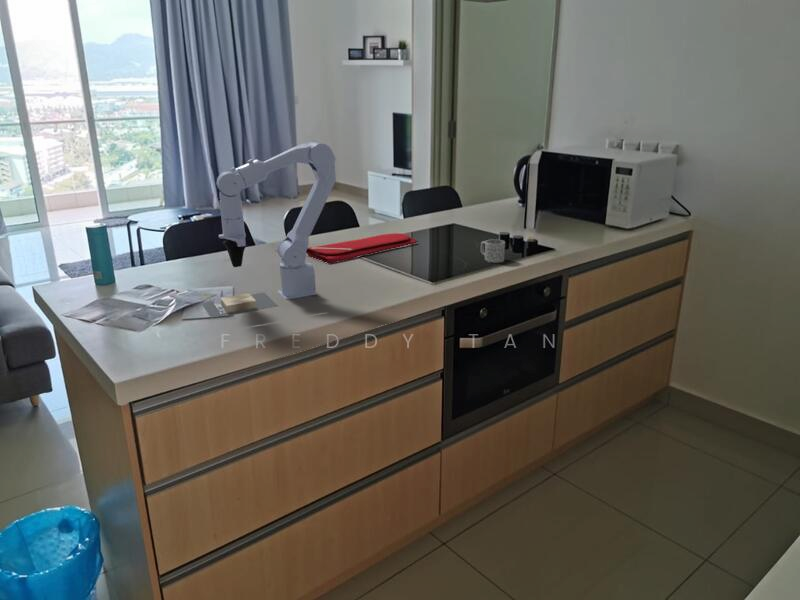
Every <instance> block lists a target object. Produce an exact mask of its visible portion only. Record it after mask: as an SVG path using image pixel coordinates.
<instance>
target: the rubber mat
mask: <svg viewBox="0 0 800 600" xmlns="http://www.w3.org/2000/svg"><path fill="white" fill-rule="evenodd" d="M250 295H251V296H252V297H253V298H254V299H255V300H256V305H257V308H252V309H247V310H241V311H235V312H230V313H227V312H226V313H223V311H221V312H222V314H220V313H219V310H218V309H217V308H216V306H215V305H214V302H213V301H214V300H211V301H205V303H203V302H201V303H202V304H201V306H202V307H203V309H204V310H205V311H206V312H207V315H208V316H209V317H210V318H211V319H212V318H219V317H224V316H225V317H226V316H228V315H235V314H241V313H242V314H243V313H246V312H252V311H253V312H254V311H258V310H263V309H269V308H274V307H278V306H279V305H278V304H277V303H275V301H274V300H273V299H272V298H271V297H269V296H268V294H266V292H259V293H253V294H250Z"/></svg>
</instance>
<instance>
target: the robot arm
mask: <svg viewBox="0 0 800 600" xmlns="http://www.w3.org/2000/svg"><path fill="white" fill-rule="evenodd" d="M336 159H337V158H336V157H335V154H334V152H333V150H332V149H331V147H330V146H329V145H328V144H326V143H320V142H319V141H316V140H311V141H308V142H306V143H300V144H298V145H296V146H293V147H292V148H289V149H287V150H285V151H283V152H281V153H279V154H277V155H274V156H273V157H270V158H268V159H267V160H265V161H262V160H259V159H255V160H253V159H252V158H250V159H248V160H247V163H245V164H242V165H240V166H238V167H235V166H233V167H230V170H231V171H223V172H221V173H220V174H219V175H218V176H217V178H216V182H215V185H216V187H217V189H218V190H219V194H218V195H219V197H218V198H219V208H220V209H219V210H220V217H221V228H222V234H218V238H219V239H225V240H223V241H222V244H223V245H224V247H225V249H226V251H227V253H228V256H229V259H230V262H231V264H232V267H233V268H239V267H242V265H243V260H244V259H243V258H244V252H245V249H246V247H247V244H248V242H247V241H246V236H247V235H246V232H245V222H244V212H243V211H244V210H243V209H244V208H243V202H242V198H241V197H242V195H241V192H242V190H244V189H245V190H246V189H248V188H250V187H252V186H254V185H257V184H258V183H261V182H263V181H265V180H267V179H268V176H269V174H270V173H272V172H276V171H277V170H280V169H283V168H285V167H288V166H290V165H293V164H296V163H297V164H298V163H300V164H304V165H305V164H306V165H309V166H310V168H311V171H312V172H313V174H314V177H315V180H314V183H313V185H312V187H311V189H310V190H309V194H308V195H307V197H306V199H305V201H304V204H303V206H302V208H301V211H300V212H299V215H298V216H297V219H296V220H295V222H294V225H293V226H292V227H293V228H292V229H291V230H290V231H289V232H288V233H287V234H286V236H285V238H284V239H282V241H280V242H279V244H278V246H277V254H278V256H279V257H280V258H281V260H280V263H279V270H280V271H279V274H280V285H281V289H279V290H277V293H278V294H279V295H280V296H281V297H282V298H283V299H284V300H291V299H292V300H293V299H297V298H303V297H308V296H309V297H312V296H316V295H317V294H318V293H317V289H316V287H317V286H316V275H315V274H316V273H315V268H314V266H313V264H312V263H311V262H306V259H307V253H306V251H307V248H309V241H310V239H309V238H310V237H311V234H312V232H313V230H314V228H315V225H316V224H317V222H318V219H319V217H320V215H321V213H322V211H323V209H324V206H325V205H326V202H327V200H328V199H329V196H330V194H331V192H332V190H333V187H334V185H335V183H336V179H337V177H336V176H337V175H336V165H335V164H336Z"/></svg>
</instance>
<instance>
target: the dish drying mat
mask: <svg viewBox="0 0 800 600" xmlns="http://www.w3.org/2000/svg"><path fill="white" fill-rule="evenodd" d="M416 242H418V240H417V239H415V238H412V237H411V236H410V235H407V234H403V233H396V232H395V233H386V234H385V233H384V234H378V235H375V236H374V235H373V236H370V237H365V238H360V239H353V240H347V241H341V242H337V243H335V242H334V243H330V244H323V245H318V246H311V247H309V246H308V248H307V251H306V255H307V256H308V257H310V258H311V257H313V258H312V259H314V258H316V259H319V260H322V261H324V262H323V263H325V262H327V263H331V264H334V263H333V262H336V263H338V262H337V261H341V260H345V261H347V260H346V259H350V258H354V257H357V256H360V255H365V254H371V253H375V252H379V251H383V250H387V249H391V248H396V247H400V246H404V245H408V244H412V243H416ZM418 243H419V242H418ZM316 259H315V260H316ZM319 260H318V261H319ZM350 260H351V259H350ZM322 261H321V262H322ZM341 262H342V261H341ZM327 263H326V264H327Z"/></svg>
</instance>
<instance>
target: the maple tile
mask: <svg viewBox="0 0 800 600" xmlns="http://www.w3.org/2000/svg"><path fill="white" fill-rule="evenodd" d="M251 295H252V294H250V293H243V294H238V295H232V296H226V297H220V299H219V300H221V305H222V307H223V308H224V309H225V311H226V312H227V313H230V312H235V311H241V310H247V309H252V308H257V305H256V300H255V299H254V298H253V297H252V296H251Z"/></svg>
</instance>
